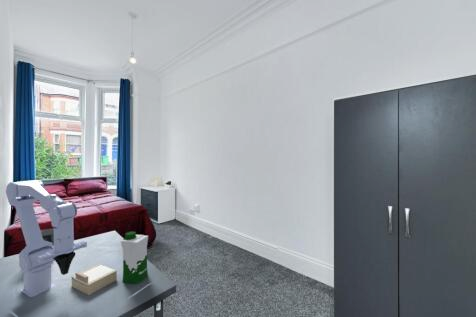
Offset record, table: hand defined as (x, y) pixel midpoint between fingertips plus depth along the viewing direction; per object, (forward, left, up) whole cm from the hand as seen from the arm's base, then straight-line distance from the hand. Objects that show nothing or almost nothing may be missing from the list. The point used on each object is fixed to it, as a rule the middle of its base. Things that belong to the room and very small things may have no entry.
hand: (64, 273), depth 79 cm
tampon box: (-44, +9, -10) cm, 46 cm away
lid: (0, +10, -6) cm, 12 cm away
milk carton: (+12, +20, -10) cm, 26 cm away
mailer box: (0, +10, -10) cm, 14 cm away
